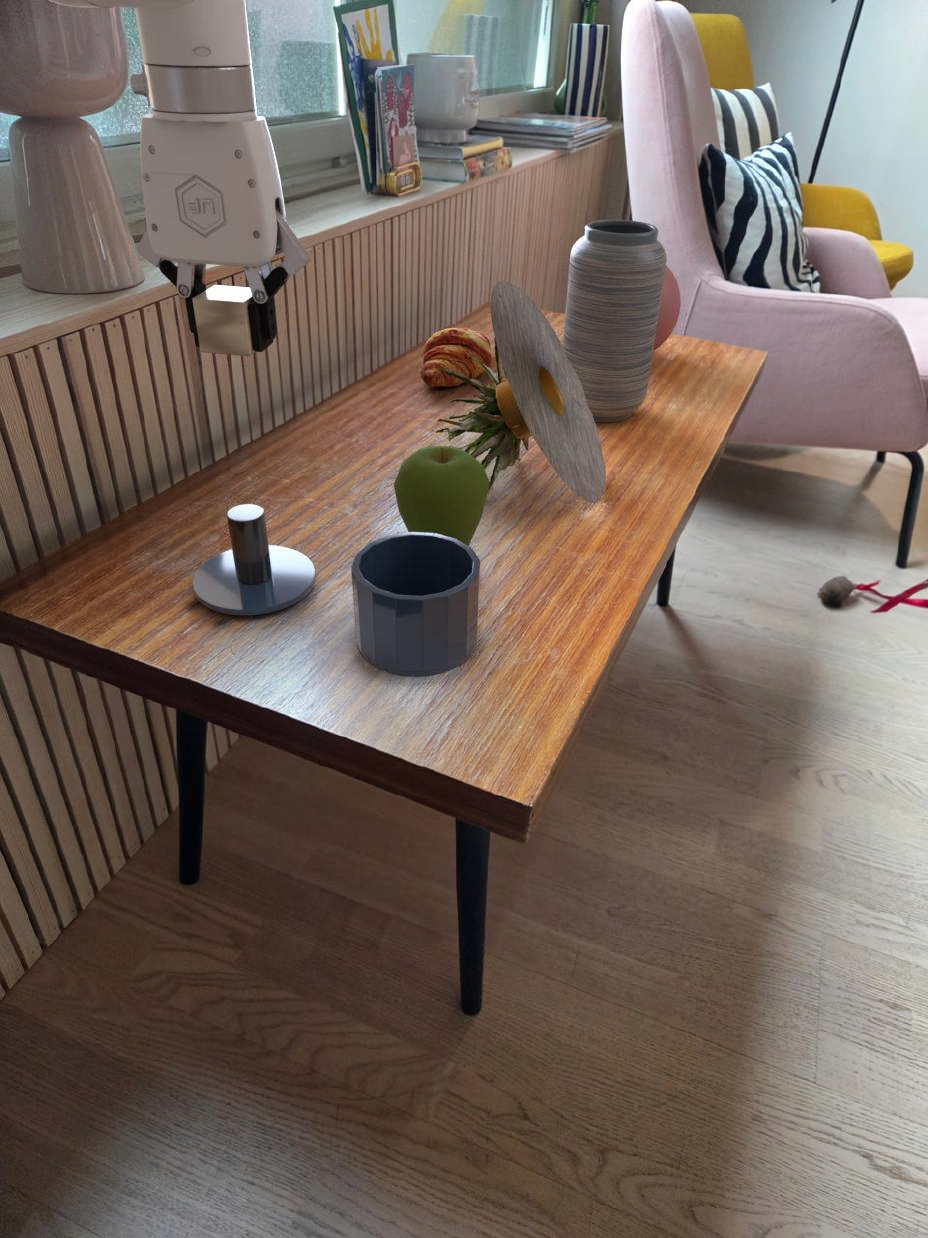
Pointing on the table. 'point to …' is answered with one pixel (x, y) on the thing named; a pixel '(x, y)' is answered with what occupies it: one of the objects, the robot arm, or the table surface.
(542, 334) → the grey leafy disc
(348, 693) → the table surface
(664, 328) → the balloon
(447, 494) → the apple
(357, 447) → the table surface
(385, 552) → the pot
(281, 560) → the lid
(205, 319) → the block
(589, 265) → the vase
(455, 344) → the croissant
